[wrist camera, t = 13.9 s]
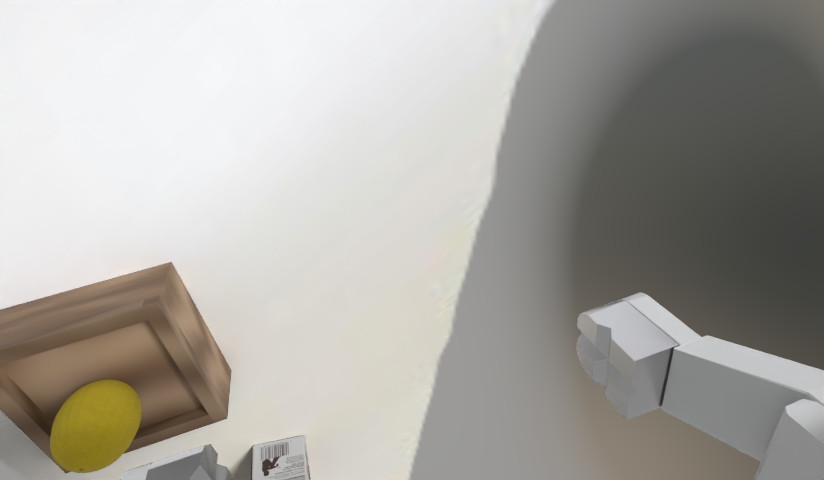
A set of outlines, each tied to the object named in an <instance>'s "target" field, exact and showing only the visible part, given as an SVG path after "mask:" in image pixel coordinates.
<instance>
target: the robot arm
mask: <svg viewBox="0 0 824 480" xmlns="http://www.w3.org/2000/svg"><path fill="white" fill-rule="evenodd" d="M577 327H578V328H579V329H580V330H581V331H582V334H581V336H580V337H579V339H578V340H577V354H578V357H579V360H580V363H581V365H582V367H583V369H584V370H585V372H586V373H587V374H588V376H589V377H590V378H591V379H592V380H593V381H594V382H597V383H599V384H602V385H604V386H605V394H606V397H607V398H608V399H609V401H610V402H611V403H612V404H613V405H614V407H615V408H616V409H617V410H618V411H619V412H620V414H621V415H622V416H623V417H624V418H625V419H626V420H628V419H630V418H633V417H636V416H638V415H641V414H644V413H647V412H650V411H652V410H655V409H658V408H660V407H662V408H661V409H662V410H663V411H665V412H667V413H669V414H671V415H673V416H675V417H677V418H679V419H680V420H682V421H684V422H686V423H688V424H690V425H692V426H694V427H696V428H698V429H700V430H702V431H703V432H705V433H707V434H709V435H711V436H713V437H715V438H717V439H719V440H720V441H723V442H724V443H726V444H728V445H730V446H732V447H734V448H736V449H738V450H740V451H742V452H743V453H745V454H747V455H749V456H751V457H753V458H755V459H757V460H759V461H761V464H760V466H759V469H758V471H757V473H756V475H755V478H754V480H824V371H823V370H820V369H817V368H813V367H810V366H806V365H803V364H800V363H797V362H794V361H790V360H787V359H784V358H780V357H777V356H774V355H770V354H767V353H764V352H760V351H757V350H754V349H751V348H747V347H744V346H741V345H737V344H734V343H731V342H727V341H724V340H721V339H717V338H714V337H711V336H704V337H700V336H699V335H698V334H696V333H695V332H694V331H693V330H691V329H690V328H689V327H687V326H686V325H685V324H684V323H682V322H681V321H680V320H678V319H677V318H676V317H675V316H673V315H672V314H671V313H670V312H668V311H667V310H666V309H664V308H663V307H662V306H661V305H659V304H658V303H657V302H656V301H654V300H653V299H652V298H651V297H649V296H648V295H646V294H643V293H638V294H635V295H632V296H629V297H626V298H623V299H621V300H617V301H614V302H611V303H609V304H606V305H603V306H600V307H598V308H595V309H592V310H589V311H587V312H584V313H581V314H580V316H579V317H578V324H577ZM217 457H218V454H217V452H216V451H215V450H214V448H213V447H212V446H211V444H209V445H204V446H201V447H198V448H195V449H192V450H189V451H186V452H183V453H179V454H176V455H173V456H170V457H167V458H164V459H161V460H158V461H155V462H152V463H149V464H146V465H143V466H140V467H137V468H134V469H131V470H128V471H126V472H125V473H124V475H123V476H122V477H121V479H120V480H233V478H232V475H231V473H230V471H229V470H228V468H227V467H225V466H222V465H219V464H217Z"/></svg>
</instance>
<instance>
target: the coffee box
mask: <svg viewBox="0 0 824 480" xmlns="http://www.w3.org/2000/svg"><path fill="white" fill-rule="evenodd" d="M251 480H310V473H309V466H308V459H307V451H306V443H305V436H304V435H302V436H297V437H293V438H288V439H283V440H278V441H273V442H268V443H264V444H258V445H254V446H253V447H252V463H251Z"/></svg>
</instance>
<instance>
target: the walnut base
mask: <svg viewBox="0 0 824 480" xmlns="http://www.w3.org/2000/svg"><path fill="white" fill-rule="evenodd" d="M107 379H109V380H118V381H121V382H124V383H126V384H128V385H129V386H131V387H132V388H133V389H134V390H135V391H136V393H137V394H138V396H139V399H140V402H141V407H142V410H141V421H140V425H139V428H138V430H137V433H136V435H135V437H134V439H133V441H132V442H131V444H130V446H129V447H128V449H127V450H126V451H125V452H124V453H127V452H130V451H133V450H136V449H139V448H142V447H145V446H148V445H151V444H154V443H156V442H159V441H162V440H165V439H168V438H171V437H174V436H177V435H180V434H183V433H186V432H189V431H192V430H195V429H198V428H201V427H204V426H206V425H209V424H212V423H215V422H218V421H221V420H224V419H227V415H228V403H229V392H230V380H231V369H230V367H229V365H228V364H227V362H226V360H225V358H224V356H223V354H222V353H221V351H220V349H219V347H218V345H217V344H216V342H215V340H214V338H213V336H212V334H211V333H210V331H209V329H208V327H207V325H206V324H205V322H204V320H203V318H202V316H201V315H200V313H199V311H198V309H197V307H196V305H195V304H194V302H193V300H192V298H191V296H190V295H189V293H188V291H187V289H186V287H185V286H184V284H183V282H182V280H181V278H180V276H179V275H178V273H177V271H176V269H175V267H174V266H173V264H172V262H170V263H166V264H163V265H159V266H156V267H152V268H148V269H145V270H141V271H138V272H134V273H131V274H127V275H123V276H120V277H116V278H113V279H109V280H106V281H102V282H98V283H95V284H91V285H88V286H84V287H81V288H77V289H73V290H70V291H66V292H63V293H59V294H56V295H52V296H48V297H45V298H41V299H38V300H34V301H31V302H27V303H23V304H20V305H16V306H13V307H9V308H6V309H2V310H0V410H1V411H2V412H3V413H5V414H6V415H7V416H8V417H9V418H10V419H11V420H12V421H13V422H14V423H15V424H16V425H17V426H18V427H19V428H20V429H21V430H22V431H23V432H24V433H25V434H26V435H27V436H28V437H29V438H30V439H31V440H32V441H33V442H34V443H35V444H36V445H37V446H38V447H39V448H40V449H41V450H42V451H43V452H44V453H45V454H46V455H48V456H49V457H50V458H51V459H52V460H53V461H54V462H55V463H56V464H57V465H58V466H59V467H60V468H61V469H62V470H63V471H64V472H65V473H68V472H71V471H69V470H66V469H65V468H63V467H62V466H60V465H59V464H58V463H57V462H56V461H55V459H54V458H53V456H52V453H51V449H50V436H51V431H52V426H53V422H54V420H55V417H56V415H57V413H58V412H59V410H60V409H61V407H62V405H63V404H64V403H65V401H66V400H67V399H68V398H69V397H70V396H71V395H72V394H73V393H75V392H76V391H77V390H78V389H80V388H81V387H83V386H85V385H87V384H89V383H92V382H95V381H99V380H107ZM124 453H123V454H124Z"/></svg>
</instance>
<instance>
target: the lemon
mask: <svg viewBox="0 0 824 480" xmlns="http://www.w3.org/2000/svg"><path fill="white" fill-rule="evenodd" d="M141 410H142V407H141V402H140V399H139V396H138V394H137V393H136V391H135V390H134V389H133V388H132V387H131V386H129V385H128V384H126V383H124V382H121V381H118V380H109V379H107V380H99V381H95V382H92V383H89V384H87V385H85V386H83V387H81V388H80V389H78V390H77V391H76V392H75V393H73V394H72V395H71V396H70V397H69V398H68V399H67V400H66V401H65V403H64V404H63V405H62V407H61V409H60V410H59V412H58V413H57V415H56V417H55V420H54V422H53V426H52V431H51V436H50V449H51V453H52V456H53V458H54V459H55V461H56V462H57V463H58V464H59V465H60V466H62V467H63V468H65V469H66V470H69V471H72V472H77V473H88V472H93V471H97V470H100V469H102V468H105V467H107V466H109V465H110V464H112V463H113V462H115V461H116V460H117V459H119V457H120V456H121V455H122V454H123V453H124V452H125V451H126V450H127V449H128V447H129V446H130V444H131V442H132V441H133V439H134V437H135V435H136V433H137V430H138V428H139V425H140V421H141Z"/></svg>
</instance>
